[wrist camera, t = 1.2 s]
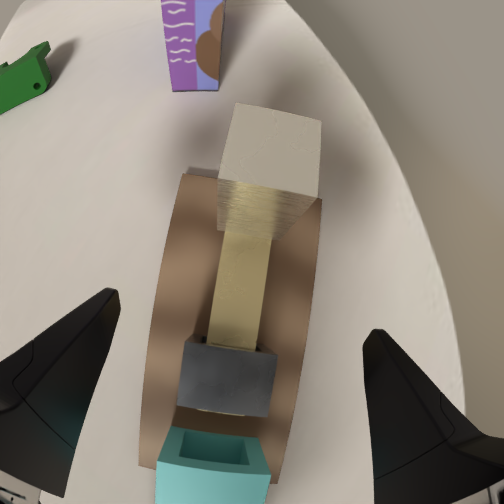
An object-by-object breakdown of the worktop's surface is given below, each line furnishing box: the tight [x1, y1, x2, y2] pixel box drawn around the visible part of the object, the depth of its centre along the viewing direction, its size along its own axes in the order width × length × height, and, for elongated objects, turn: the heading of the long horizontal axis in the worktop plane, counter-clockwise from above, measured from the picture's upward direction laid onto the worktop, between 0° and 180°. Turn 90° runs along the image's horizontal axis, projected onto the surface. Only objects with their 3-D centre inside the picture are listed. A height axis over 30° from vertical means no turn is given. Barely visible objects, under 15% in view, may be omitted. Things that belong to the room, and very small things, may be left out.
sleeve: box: [177, 334, 278, 417], centre depth 18 cm, size 4×5×5 cm
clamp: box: [0, 41, 51, 114], centre depth 22 cm, size 12×6×9 cm, turn 96°
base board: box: [139, 173, 322, 484], centre depth 21 cm, size 26×12×1 cm, turn 171°
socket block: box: [155, 426, 271, 504], centre depth 16 cm, size 4×7×6 cm, turn 81°
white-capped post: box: [197, 103, 322, 416], centre depth 15 cm, size 16×4×10 cm, turn 171°
